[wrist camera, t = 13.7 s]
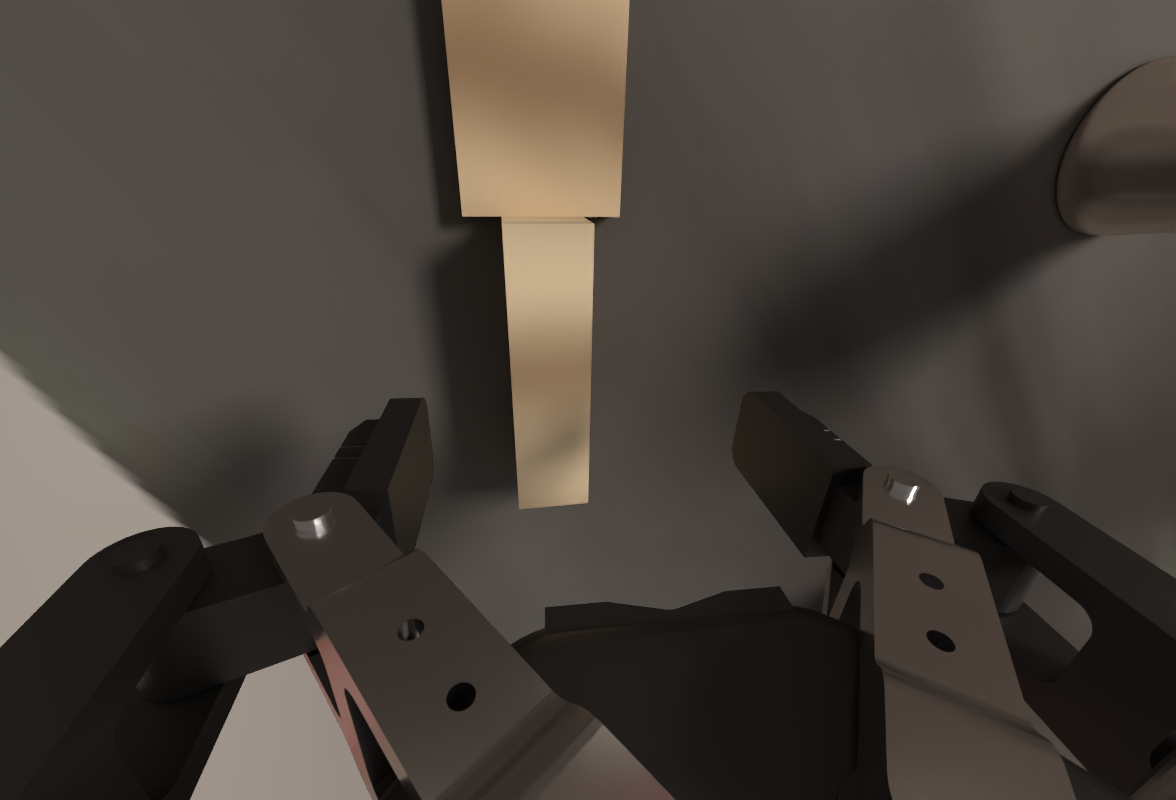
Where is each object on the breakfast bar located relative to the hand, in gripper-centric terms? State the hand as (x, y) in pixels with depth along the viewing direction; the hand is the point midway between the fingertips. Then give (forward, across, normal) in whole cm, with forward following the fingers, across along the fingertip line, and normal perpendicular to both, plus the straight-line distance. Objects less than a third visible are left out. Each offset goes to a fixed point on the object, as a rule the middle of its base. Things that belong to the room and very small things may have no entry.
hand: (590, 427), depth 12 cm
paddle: (+7, +1, -2) cm, 7 cm away
